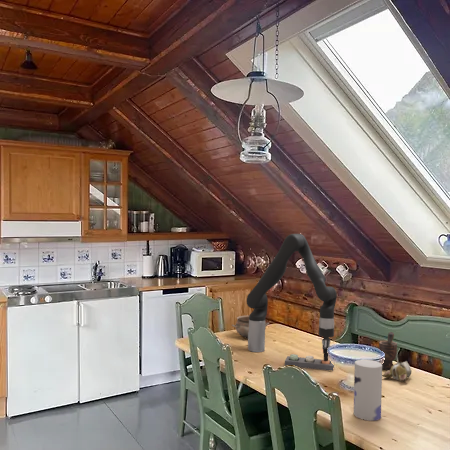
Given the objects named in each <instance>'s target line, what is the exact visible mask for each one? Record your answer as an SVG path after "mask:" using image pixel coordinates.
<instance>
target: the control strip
mask: <svg viewBox="0 0 450 450" xmlns="http://www.w3.org/2000/svg"><path fill="white" fill-rule="evenodd" d="M322 360H323V359H320V358H314V363H312V362H306V357H300V356H298V361H293V360H290V355H287V356H286V358H285V360H284V367H287V366H286V365H295V366H298V367H297V368H303V369H312V370H321V371H322V370H323V371H329V370H332V371H331V372H333V371H334V369H333V368H335V364H334V365H333V364H332V363H331V361H332V360H331V361H330V360H329V359H328V360H329V361H330V364H322Z"/></svg>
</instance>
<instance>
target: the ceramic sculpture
mask: <svg viewBox="0 0 450 450" xmlns="http://www.w3.org/2000/svg"><path fill="white" fill-rule="evenodd" d="M411 375H412V368H411V366H410V364H409V363H408V361H407V360H405V361H403V362H402V361H397V362H396V363H393V366H392V367H391V369H390V370H386V371H385V372H384V373H383V374H382V378H383V377H384V378H386V379H390V378H393V380H395V381H399V382H401V383H402V382H406V380H407V379H408V378H410V377H411Z"/></svg>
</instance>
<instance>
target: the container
mask: <svg viewBox="0 0 450 450" xmlns="http://www.w3.org/2000/svg"><path fill="white" fill-rule="evenodd" d="M382 375H383V369H382V362H379V361H376V360H372V359H357V360H356V361H354V380H353V381H354V382H353V415H354V416H355V418H358V419H361V420H363V419H364V420H363V421H369V422H370V421H373V422H374V421H378V420H380V419H381V418H382V394H383V393H382V391H383V390H382V389H383V387H382V384H383V376H382Z"/></svg>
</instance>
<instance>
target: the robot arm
mask: <svg viewBox="0 0 450 450" xmlns="http://www.w3.org/2000/svg"><path fill="white" fill-rule="evenodd" d="M295 252H298V253H299V255H300V256H301V258H302V261H303V263H304V266H305V267H304V268H305V271H306V274H307V276H308V278H309V280H310V281H311V283H312V284H313V285H312V286H313V288H314V290H315V294H316V296H317V298H318V299H319V300H320V301H321V302H323V303H322V305H321V306H320V308H319V320H318V336H320V337H322V339H321V344H322V354H323V360H324V361H328V360H329V353H327V348H328V347H330V348H331V339H330V338H334V336H335V308H336V303H337V290H336V289H335V288H334V287H333V286H327V285H326V280H327V279H326V277H325V274H324V273H323V271H322V270H321V268H320V266H319V265H318V263H317V261H316V259H315V257H314V255H313V252H312V250H311V247H310V245H309V243H308V241H307V239H306V237H305V235H303V234H301V233H291V234H288V235H287V236H286V237H285V238H284V240H283V243H282V244H281V246H280V248H279V250H278V252H277V254H276V255H275V256H274V258H273V259H272V261H271V262H270V263H269V265H268V266H267V268H266V270H265V271H264V273H263V275H262V276H261V278H260V279H259V281H258V282H257V283H256V285H255V286H254V287H253V288H252V290H250V292H249V293H248V294H247V297H246V305H247V307H248V308H250V309H253V310H252V312H251V313H250V314H249V315H248V316H249V332H248V339H247V350H248V351H249V352H253V353H262V352H264V351H265V347H266V346H265V345H266V328H265V325H266V324H265V323H266V317H267V315H268V302H269V300H268V295H267V294H266V293H267V292H269V291H270V290H271V289H272V288H273V287H274V286H275V285H277V284H278V283H279V282H280V281H281V279H282V278H283V276H284V275H285V273H286V270H287V264H288V262H289V260H290V259H291V257H292V256H293V254H294V253H295Z"/></svg>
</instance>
